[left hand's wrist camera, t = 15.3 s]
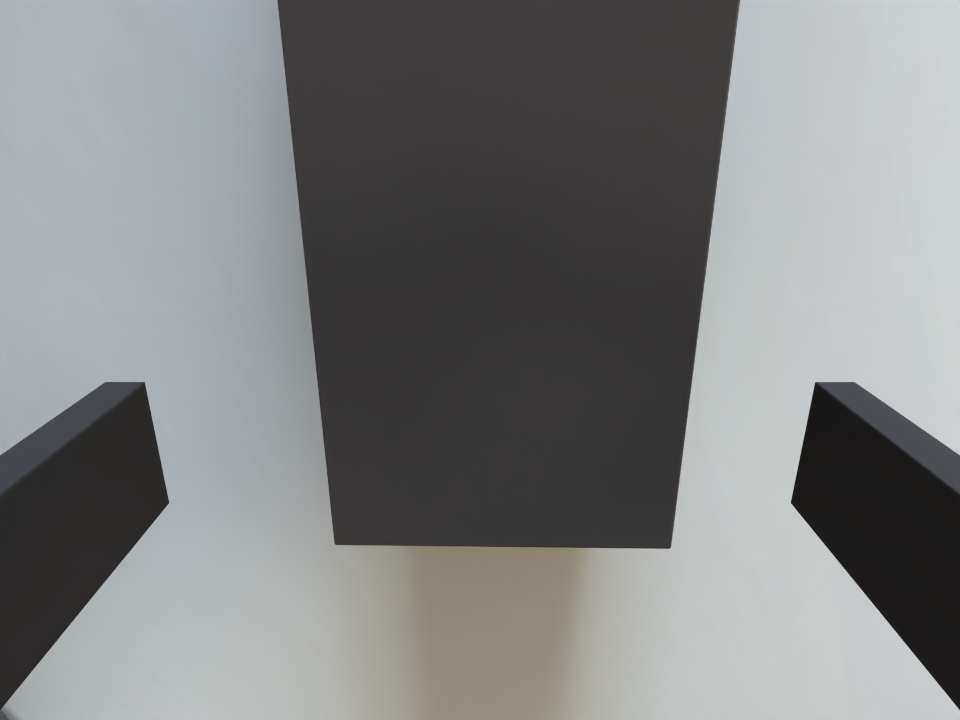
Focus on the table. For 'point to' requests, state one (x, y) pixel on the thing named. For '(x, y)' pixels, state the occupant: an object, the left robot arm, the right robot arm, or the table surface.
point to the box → (506, 258)
